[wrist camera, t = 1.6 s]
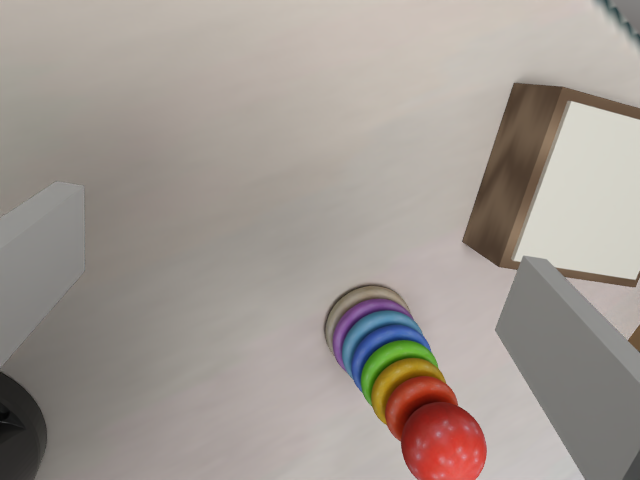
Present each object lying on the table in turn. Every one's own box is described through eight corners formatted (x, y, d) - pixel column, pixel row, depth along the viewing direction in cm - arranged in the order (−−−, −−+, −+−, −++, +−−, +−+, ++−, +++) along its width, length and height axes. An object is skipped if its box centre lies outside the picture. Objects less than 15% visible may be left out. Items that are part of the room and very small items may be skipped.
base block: (586, 261, 49) (638, 289, 43) (462, 241, 45) (501, 268, 39) (644, 118, 45) (710, 127, 39) (514, 83, 41) (566, 87, 36)
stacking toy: (420, 296, 46) (552, 437, 29) (383, 368, 48) (487, 541, 31) (345, 271, 44) (441, 409, 27) (309, 349, 46) (377, 525, 28)
